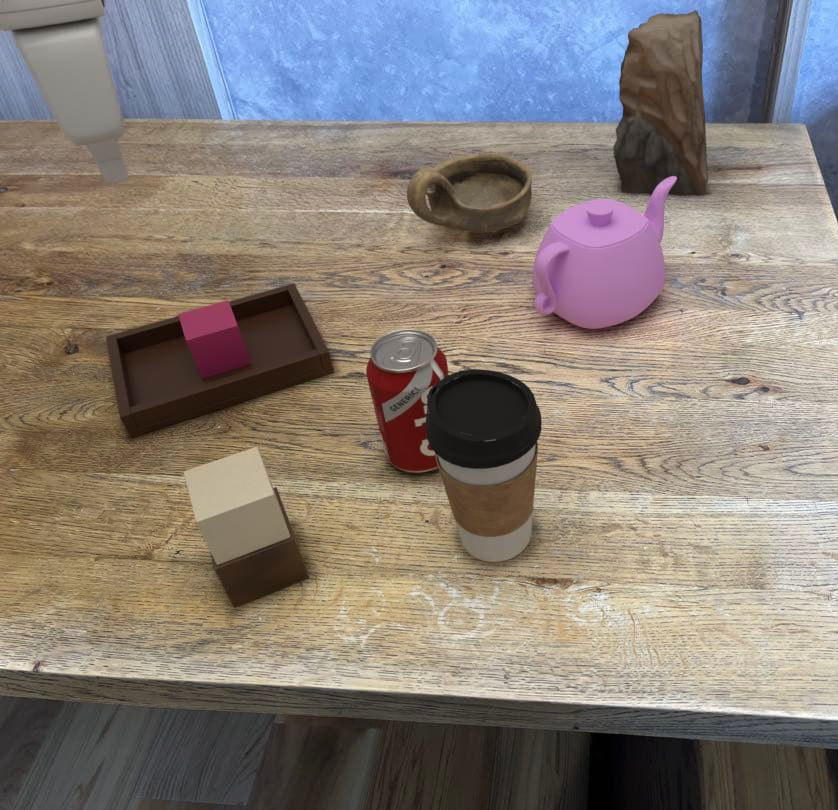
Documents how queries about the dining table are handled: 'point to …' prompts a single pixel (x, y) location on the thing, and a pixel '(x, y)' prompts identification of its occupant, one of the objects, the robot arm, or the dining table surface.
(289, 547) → the walnut block
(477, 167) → the bowl
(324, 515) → the dining table surface
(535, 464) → the coffee cup
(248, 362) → the pink block
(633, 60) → the brown rock
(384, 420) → the soda can
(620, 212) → the teapot
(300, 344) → the tray
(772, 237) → the dining table surface
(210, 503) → the cream block
